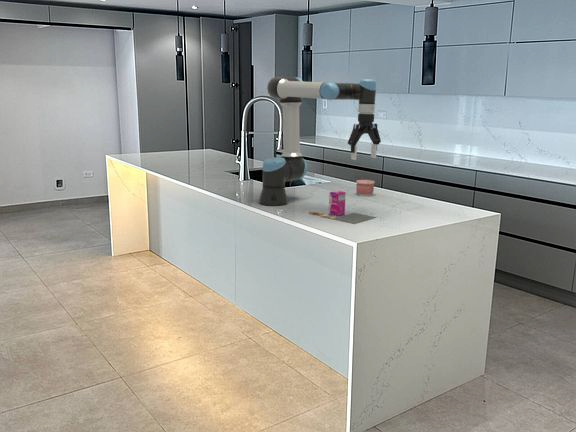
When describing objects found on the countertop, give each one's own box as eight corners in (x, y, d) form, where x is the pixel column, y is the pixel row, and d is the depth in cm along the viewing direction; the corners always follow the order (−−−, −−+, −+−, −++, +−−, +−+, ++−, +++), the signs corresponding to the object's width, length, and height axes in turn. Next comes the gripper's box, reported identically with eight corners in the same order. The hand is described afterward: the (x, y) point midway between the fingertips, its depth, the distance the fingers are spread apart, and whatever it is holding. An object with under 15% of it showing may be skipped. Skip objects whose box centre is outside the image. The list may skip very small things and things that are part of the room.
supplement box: (328, 215, 268) (328, 191, 265) (336, 213, 272) (336, 190, 269) (337, 217, 264) (338, 193, 261) (345, 215, 268) (346, 191, 265)
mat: (331, 219, 259) (331, 218, 258) (354, 213, 272) (354, 212, 272) (354, 224, 250) (354, 223, 250) (376, 218, 263) (376, 217, 263)
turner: (307, 214, 268) (307, 211, 268) (311, 213, 270) (311, 211, 270) (333, 219, 258) (333, 216, 258) (337, 218, 260) (337, 215, 260)
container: (363, 197, 312) (364, 183, 310) (351, 194, 321) (352, 180, 319) (377, 195, 318) (378, 181, 316) (365, 192, 326) (366, 179, 324)
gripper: (353, 114, 249) (350, 161, 254) (390, 113, 264) (387, 157, 269) (341, 113, 254) (339, 159, 259) (378, 112, 270) (375, 156, 275)
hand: (363, 158), depth 264 cm, fingers open, 13 cm apart
